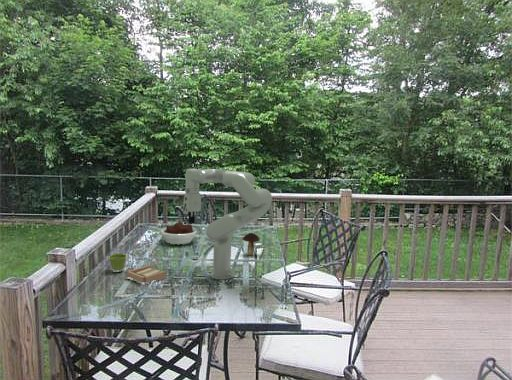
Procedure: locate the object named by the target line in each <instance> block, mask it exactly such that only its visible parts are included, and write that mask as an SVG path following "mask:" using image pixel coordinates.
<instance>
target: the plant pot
mask: <svg viewBox="0 0 512 380" xmlns="http://www.w3.org/2000/svg"><path fill="white" fill-rule="evenodd" d="M126 258H128V255H126V254H124V253H115V254H111V255H109V256H108V259H109V261H110V267H111V268H110V269H111V270H112V269H114V270H121V269H123V268H124V269H125V264H126Z"/></svg>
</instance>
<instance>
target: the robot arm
mask: <svg viewBox="0 0 512 380" xmlns="http://www.w3.org/2000/svg"><path fill="white" fill-rule="evenodd" d="M255 180H256V178H255V176H254V175H253V174H252V173H250V172H247V171H246V172H245V171H237V170H235V171H234V170H224V169H217V168H216V169H215V168H206V169H205V168H204V169H198V168H186V171H185V189H184V197H183V206H182V208H183V213H184V214H185V215H187V216H188V224H190V225H192V224H195V222H196V221H195V219H196V216H197V213H199V212H200V211H201V210H202V197H201V193H200V184H202V185H203V184H208V183H219V184H223V186H225V187H229V188H233V189H234V190H235V192H236V193H237V194H238V196H240V198H241V199H242V200H243V201H244V202H245V203H246V204H247V206H245V207H243V208H242V209H240V210H237V211H234V212H230V213H228V214H225V215H223V216H221V217H219V218H218V219H216V220H214V221H211V222H210V223H209V224H208V225H207V226H206V230H205V233H206V236H207V238H208V240H209V239H210V240H212V241H214V242H213V254H212V255H213V256H212V257H213V259H212V260H213V261H212V271H211V272H210V273H209V277H211V279H214V278H215V280H229V279H231V278H233V277H235V275H236V272H234V271H233V268H232V267H231V266H232V265H231V261H232V260H231V259H232V242H233V241H232V239H233V234H234V232H236V231H239V230H242V229H243V228H244V227H246V226H247V225H250V224H251V223H253V222H255V221H256V220H259V219H260V218H262V217H263V216H264V215H265V214H267V213H268V212H269V210H270V208H271V207H272V203H273V196H272V193H271V191H269V190H268V189H266V188H255V187H254V185H255V183H256V181H255Z"/></svg>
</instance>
